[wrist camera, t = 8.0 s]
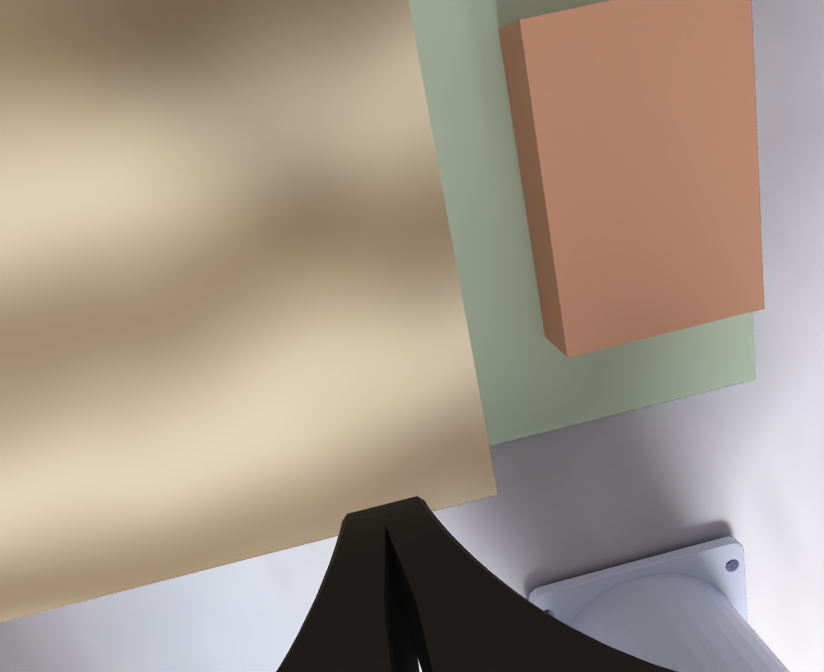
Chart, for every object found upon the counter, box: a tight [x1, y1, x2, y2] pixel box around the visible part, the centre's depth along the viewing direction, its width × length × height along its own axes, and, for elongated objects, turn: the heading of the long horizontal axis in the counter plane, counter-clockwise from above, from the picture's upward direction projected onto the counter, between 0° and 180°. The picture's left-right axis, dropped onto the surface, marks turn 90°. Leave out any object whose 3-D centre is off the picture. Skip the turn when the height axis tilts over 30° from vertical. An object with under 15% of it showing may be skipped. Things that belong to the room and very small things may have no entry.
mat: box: [408, 0, 755, 446], centre depth 21 cm, size 15×10×1 cm, turn 11°
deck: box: [0, 0, 498, 622], centre depth 18 cm, size 14×16×4 cm
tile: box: [499, 0, 764, 358], centre depth 20 cm, size 9×6×2 cm, turn 12°
